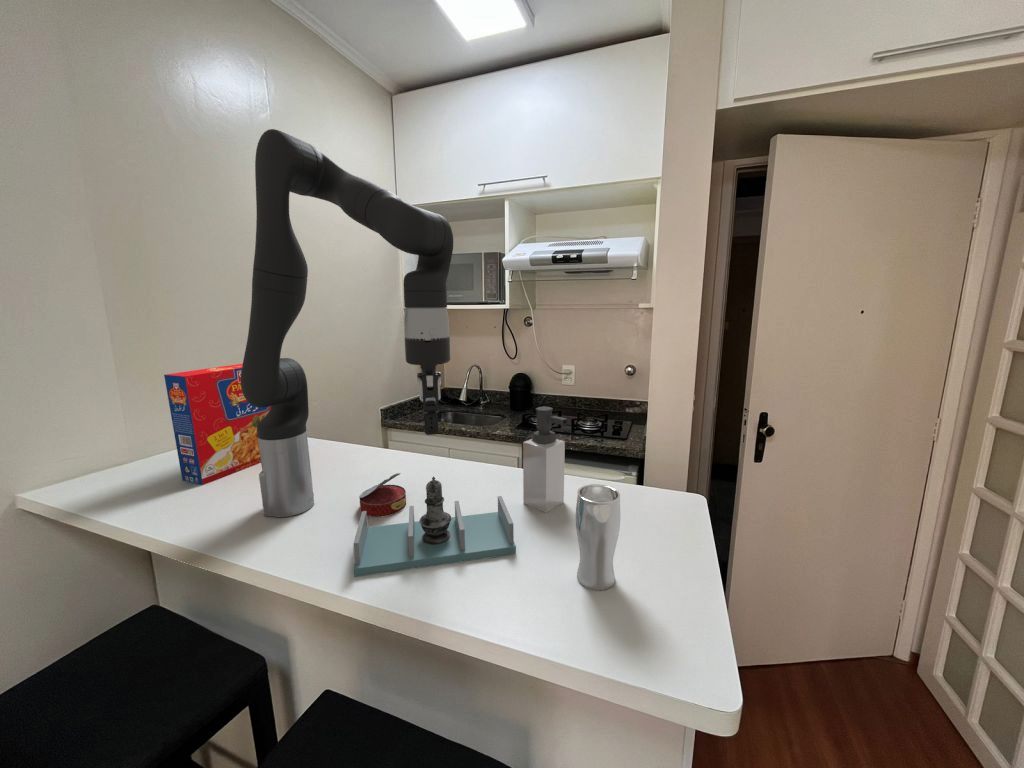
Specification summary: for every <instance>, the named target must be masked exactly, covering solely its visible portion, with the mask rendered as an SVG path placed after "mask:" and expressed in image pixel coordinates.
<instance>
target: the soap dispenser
mask: <svg viewBox="0 0 1024 768" xmlns="http://www.w3.org/2000/svg"><path fill="white" fill-rule="evenodd" d="M553 410H554V409H553V407H550V406H538V407H536V408H535V411H536V429H537V430H536V431H534V432H533V433H532V438H531V439H528V440H525V441H523V443H522V447H523V448H522V449H523V450H522V451H523V453H522V458H523V459H522V464H523V465H522V466H523V467H522V471H523V472H522V473H523V474H522V475H523V477H522V481H523V483H522V484H523V485H522V487H523V488H522V489H523V492H522V493H523V494H522V495H523V496H522V497H523V504H524V505H527V506H529V507H532V508H533V509H536V510H539V511H540V512H543V513H545V514H546V513H548V512H549V511H551V510H553V509H555V508H557V507H558V506H560V505H562V504H563V503H564V502H565V453H566V452H565V451H566V449H565V448H566V447H565V446H566V441H565V440H561V439H558V438H557V436H556V432H555V431H553V430H551V429H552V428H553V427H552V426H553V425H552V424H557V425H560V426H564V425H565V426H566V425H567V424H568V418H566V417H562V416H556V415H553V414H552V413H553Z"/></svg>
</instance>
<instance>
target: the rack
mask: <svg viewBox="0 0 1024 768" xmlns="http://www.w3.org/2000/svg"><path fill="white" fill-rule="evenodd" d="M459 501H460V500H454V516H453V517H452V516H451V521H450V524H449V527H448V529H447V530H448V531H449V532H450V538H449V539H448V540H447V541H446V542H444V543H441V544H436V545H431V544H427V543H425V542H423V540H422V535H423V534H424V533H425V532H424V531H423V529H422V526H421V524H420V522H419V520H418V521H415V506H414V505H409V506H408V507H409V509H408V522H403V523H394V524H393V523H392V524H385V525H378V526H377V525H376V526H368V516H367V511H362V512H361V514H360V517H359V522H358V525H357V528H356V529H357V530H356V533H355V537H354V540H353V554H354V564H353V569H352V570H353V577H354V578H355V577H356V578H357V577H362V576H363V577H364V576H371V575H377V574H384V573H392V572H399V571H405V570H413V569H418V568H419V569H420V568H425V567H426V568H427V567H433V566H440V565H448V564H455V563H461V562H467V561H475V560H482V559H489V558H496V557H504V556H510V555H516V554H517V546H516V543H515V541H514V534H515V533H514V522H513V519H512V517H511V515H510V513H509V510H508V507H507V505H506V503H505V501H504V498H503V496H502V495H498V496H497V511H495V512H486V513H485V512H484V513H478V514H477V513H475V514H470V515H462V511H461V506H460V502H459Z"/></svg>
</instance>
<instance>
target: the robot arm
mask: <svg viewBox="0 0 1024 768" xmlns="http://www.w3.org/2000/svg"><path fill="white" fill-rule="evenodd" d="M255 150H256V151H255V160H254V163H255V165H254V169H255V171H254V173H255V174H254V176H255V177H254V178H255V201H256V202H255V203H256V206H255V208H256V221H255V223H256V226H255V228H256V229H255V242H254V243H255V247H254V257H253V263H252V264H253V265H252V266H253V267H252V279H251V280H252V281H251V303H250V313H249V323H248V324H249V325H248V334H247V339H246V340H247V341H246V344H245V351H244V355H243V356H244V357H243V361H242V364H243V365H242V371H241V389H242V393H243V395H244V397H245V399H246V400H247V401H248V402H249V403H250V404H251V405H253V406H255V407H268V406H271V409H270V411H269V413H268V414H267V415H266V416H265V417H264V418H263V419H262V420H261V421H260V422H259V423H258V425H257V435H258V443H259V450H260V457H261V463H260V464H261V472H259V474H258V480H259V485H260V486H259V487H260V494H261V501H262V509H263V515H264V516H265V517H267V516H271V517H274V518H287V517H293V516H297V515H299V514H302V513H305V512H307V511H308V510H310V509H311V508H312V507H313V506H314V505H315V499H314V498H315V496H314V495H315V494H314V488H313V479H312V478H313V477H312V469H311V458H310V451H309V450H310V449H309V441H308V432H307V422H308V419H309V413H310V412H309V409H310V408H309V393H308V389H309V388H308V381H307V376H306V372H305V370H304V369H303V367H302V365H301V364H300V363H299V362H298V361H296V360H295V359H292V358H289V357H281V353H282V347H283V345H284V344H283V343H284V341H285V338H286V336H287V334H288V333H289V330H290V329H291V327H292V326H293V324H294V323H295V321H296V319H297V317H298V315H299V314H300V312H301V310H302V308H303V306H304V304H305V300H306V295H307V286H308V275H309V269H308V263H307V261H306V256H305V254H304V252H303V250H302V247H301V245H300V243H299V240H298V238H297V236H296V234H295V231H294V228H293V225H292V221H291V217H290V193H293V194H296V195H299V196H303V197H311V198H315V199H319V200H323V201H325V202H328V203H331V204H333V205H336V206H337V207H339V208H340V209H341V210H342V212H343V213H344V214H346V215H347V216H348V217H349V218H351V219H352V220H354V221H355V223H358V224H360V225H362V226H363V227H365V228H366V229H369V230H371V231H373V232H374V233H377V234H378V235H380V237H382V239H384V240H385V241H386V242H387V243H389V244H390V245H391V246H392V247H394V248H395V249H398V250H399V251H402V252H404V253H406V254H410V255H414V256H416V255H417V256H418V257H417V258H418V259H417V262H416V263H417V265H416V269H415V270H412V271H408V272H407V273H405V276H404V277H403V301H404V302H403V303H404V307H403V308H404V312H403V313H404V315H403V334H404V353H405V355H404V356H405V362H406V363H407V364H409V365H413V366H417V365H418V366H420V369H421V372H416V375H417V376H416V377H417V378H416V379H417V386H418V388H419V389H418V390H419V392H418V393H419V400H420V401H421V402H422V408H421V409H422V412H423V416H424V419H423V421H424V433H425V435H427V436H430V435H431V436H432V435H438V434H439V414H438V413H439V412H440V409H441V407H440V405H439V401H440V400H441V396H442V395H441V384H442V374H441V372H440V371H437V370H436V369H437V366H438V365H444V364H447V363H449V362H450V361H451V343H450V342H451V341H450V319H449V314H448V293H447V279H448V276H449V271H450V267H451V262H452V257H453V250H454V235H453V234H454V233H453V230H452V229H453V228H452V227H451V225H450V222H449V221H448V220H447V219H446V217H444V216H443V215H441V214H439V213H435V212H432V211H429V210H426V209H424V208H420V207H417V206H414V205H412V204H410V203H407V202H405V201H403V200H402V199H401V198H400V197H399V196H398V195H397V194H395V193H393V192H391V191H389V190H388V189H385V188H384V187H382V186H380V185H377V184H375V183H374V182H371V181H369V180H367V179H365V178H362V177H359V176H356V175H354V174H351V173H350V172H348V171H346V170H344V169H343V168H342V167H340V166H339V165H338V164H336V163H335V162H334V161H333V160H331V159H330V158H329V157H328V156H327V155H325V154H324V153H323V152H321V151H320V150H319V149H317V148H316V147H315V146H313V145H312V144H311V143H308V142H306V141H304V140H301V139H300V138H297V137H295V136H293V135H290V134H288V133H286V132H284V131H281V130H279V129H275V128H271V129H266V131H264V132H263V133H262V134H261V136H260V137H259V139H258V141H257V146H256V148H255Z"/></svg>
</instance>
